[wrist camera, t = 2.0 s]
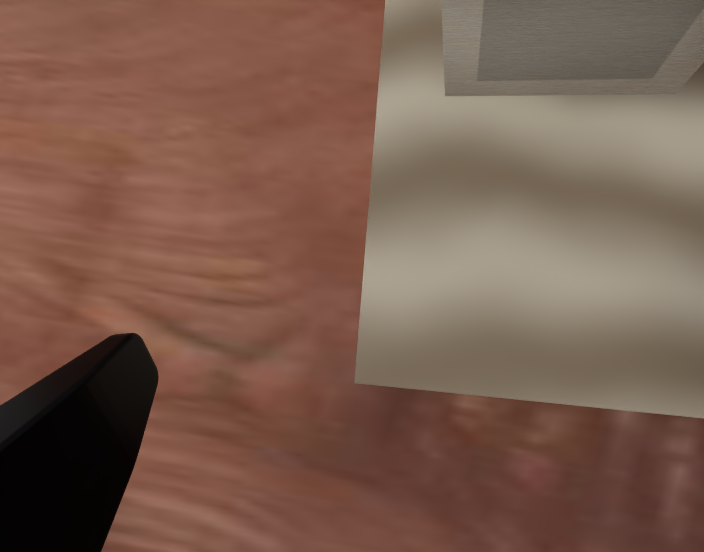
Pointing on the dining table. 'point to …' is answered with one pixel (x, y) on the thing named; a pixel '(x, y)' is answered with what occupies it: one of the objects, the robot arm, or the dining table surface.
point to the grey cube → (570, 46)
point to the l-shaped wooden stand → (532, 238)
